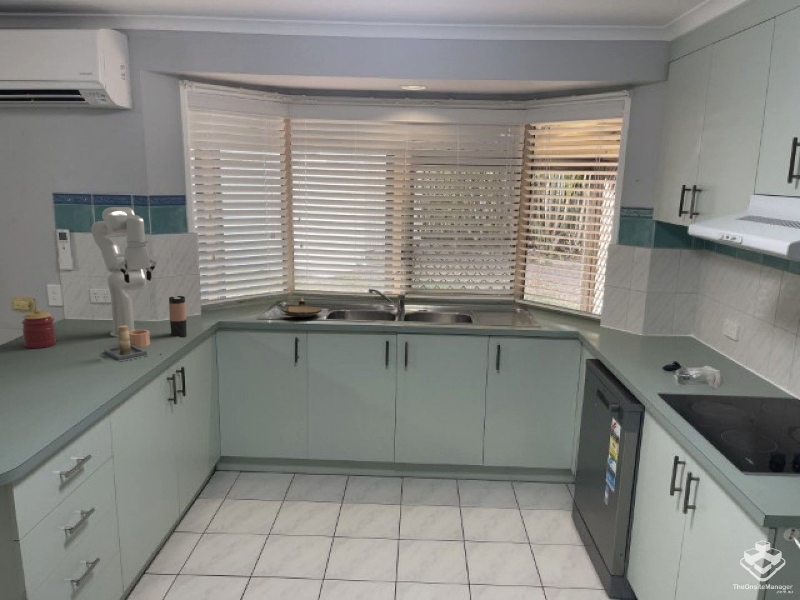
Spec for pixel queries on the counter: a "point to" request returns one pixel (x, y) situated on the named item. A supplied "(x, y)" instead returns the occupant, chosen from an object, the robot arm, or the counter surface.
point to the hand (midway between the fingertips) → (138, 281)
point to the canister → (38, 329)
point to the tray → (116, 354)
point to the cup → (139, 338)
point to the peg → (124, 339)
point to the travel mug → (177, 316)
